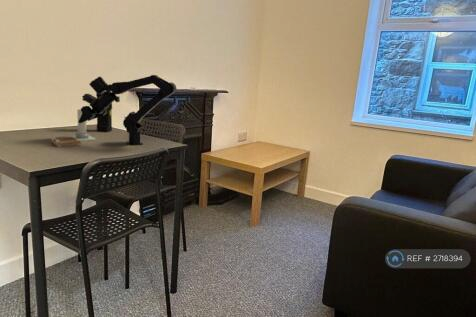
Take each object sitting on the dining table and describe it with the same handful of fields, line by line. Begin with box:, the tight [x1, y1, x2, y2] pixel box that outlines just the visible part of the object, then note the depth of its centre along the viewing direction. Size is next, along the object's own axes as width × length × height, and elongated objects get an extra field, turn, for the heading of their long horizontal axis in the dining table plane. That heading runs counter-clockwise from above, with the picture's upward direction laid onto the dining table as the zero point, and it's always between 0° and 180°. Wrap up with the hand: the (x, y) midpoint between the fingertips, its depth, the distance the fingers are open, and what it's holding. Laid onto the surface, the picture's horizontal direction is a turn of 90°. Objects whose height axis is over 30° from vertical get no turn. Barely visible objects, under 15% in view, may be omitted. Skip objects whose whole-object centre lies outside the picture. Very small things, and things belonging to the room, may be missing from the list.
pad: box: [68, 134, 97, 142], centre depth 176 cm, size 10×10×1 cm
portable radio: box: [95, 91, 113, 133], centre depth 198 cm, size 8×6×25 cm
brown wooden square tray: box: [51, 135, 82, 148], centre depth 162 cm, size 10×10×2 cm
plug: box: [75, 109, 90, 139], centre depth 174 cm, size 6×6×14 cm
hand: (83, 121), depth 174 cm, fingers open, 9 cm apart
